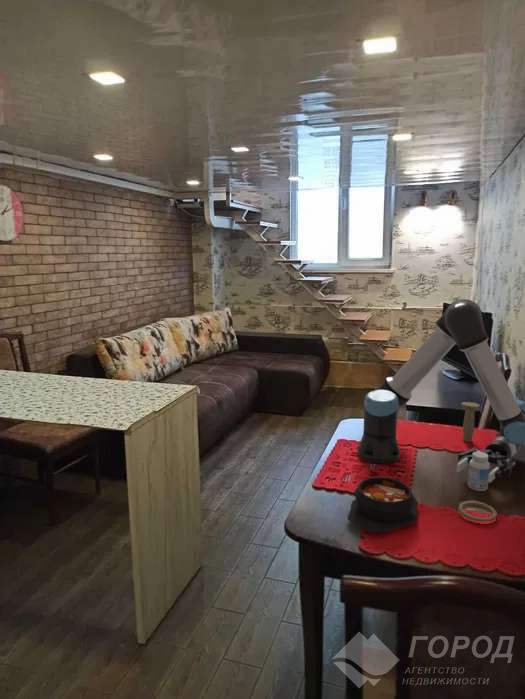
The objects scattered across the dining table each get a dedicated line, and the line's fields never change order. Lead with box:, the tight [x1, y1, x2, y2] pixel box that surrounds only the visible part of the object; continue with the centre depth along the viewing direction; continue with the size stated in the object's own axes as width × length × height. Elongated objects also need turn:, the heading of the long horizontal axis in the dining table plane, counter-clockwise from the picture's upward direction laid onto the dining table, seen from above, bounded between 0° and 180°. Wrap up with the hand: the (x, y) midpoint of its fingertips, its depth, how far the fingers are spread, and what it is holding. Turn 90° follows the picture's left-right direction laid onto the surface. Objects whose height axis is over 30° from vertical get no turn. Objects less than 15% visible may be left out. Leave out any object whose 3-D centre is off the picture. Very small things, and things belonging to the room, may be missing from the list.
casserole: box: [346, 476, 419, 534], centre depth 140 cm, size 25×19×8 cm
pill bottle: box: [467, 452, 491, 492], centre depth 156 cm, size 6×6×11 cm
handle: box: [460, 401, 481, 443], centre depth 191 cm, size 5×6×15 cm
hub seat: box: [457, 500, 498, 522], centre depth 141 cm, size 10×10×2 cm
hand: (473, 473), depth 152 cm, fingers open, 9 cm apart
